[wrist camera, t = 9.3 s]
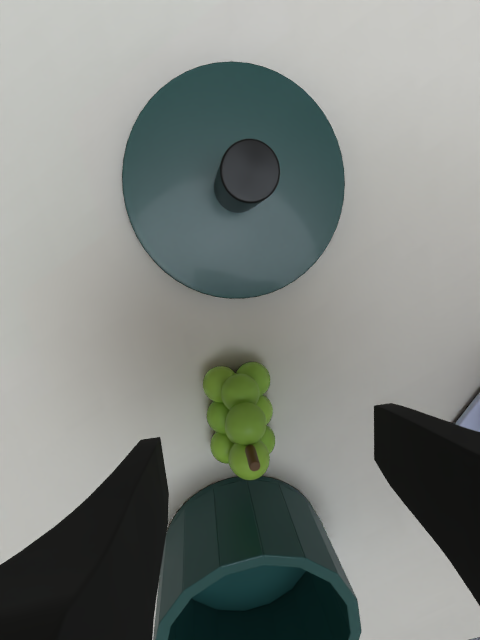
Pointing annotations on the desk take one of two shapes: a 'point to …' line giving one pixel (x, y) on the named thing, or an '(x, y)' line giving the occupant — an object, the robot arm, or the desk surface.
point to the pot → (252, 569)
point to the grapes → (240, 418)
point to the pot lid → (233, 180)
